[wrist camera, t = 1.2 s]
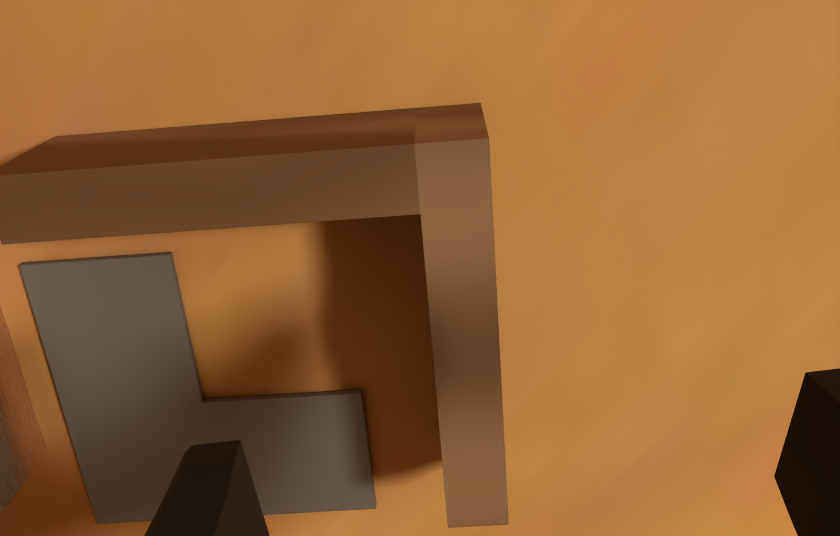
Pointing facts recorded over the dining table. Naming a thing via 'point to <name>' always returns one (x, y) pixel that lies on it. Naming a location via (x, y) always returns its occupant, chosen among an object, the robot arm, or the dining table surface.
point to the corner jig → (312, 202)
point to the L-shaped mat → (178, 397)
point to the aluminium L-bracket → (15, 424)
